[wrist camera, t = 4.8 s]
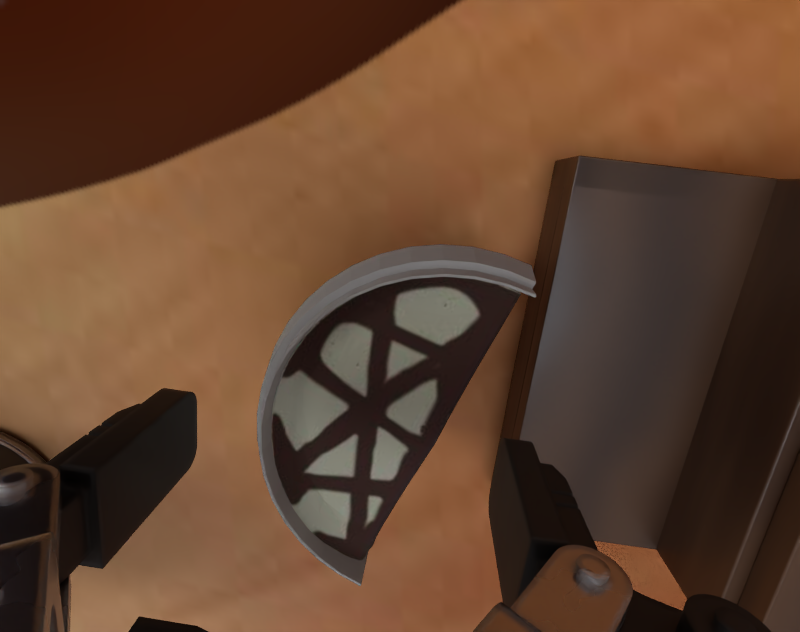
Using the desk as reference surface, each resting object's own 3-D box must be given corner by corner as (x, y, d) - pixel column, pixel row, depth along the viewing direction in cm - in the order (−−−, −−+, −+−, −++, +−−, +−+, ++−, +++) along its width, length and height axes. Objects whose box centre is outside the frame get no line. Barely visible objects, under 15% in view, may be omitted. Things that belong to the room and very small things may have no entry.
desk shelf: (490, 482, 26) (522, 634, 17) (555, 160, 21) (643, 142, 12) (785, 523, 25) (972, 701, 16) (917, 203, 20) (1275, 216, 12)
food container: (380, 177, 22) (339, 170, 12) (496, 238, 22) (547, 277, 12) (280, 392, 25) (185, 521, 15) (382, 441, 25) (353, 597, 16)
